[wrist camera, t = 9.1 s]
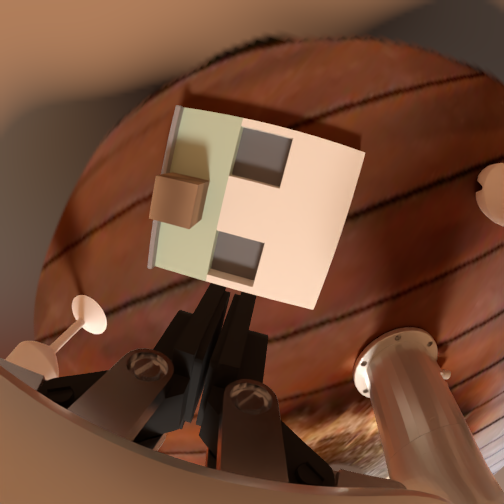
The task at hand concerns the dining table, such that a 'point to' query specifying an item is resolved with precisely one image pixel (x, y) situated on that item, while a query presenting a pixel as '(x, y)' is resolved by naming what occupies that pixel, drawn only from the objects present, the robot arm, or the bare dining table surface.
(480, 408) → the dining table surface
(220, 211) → the board
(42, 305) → the dining table surface
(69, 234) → the dining table surface
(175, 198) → the walnut block
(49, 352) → the champagne flute
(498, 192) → the water bottle
